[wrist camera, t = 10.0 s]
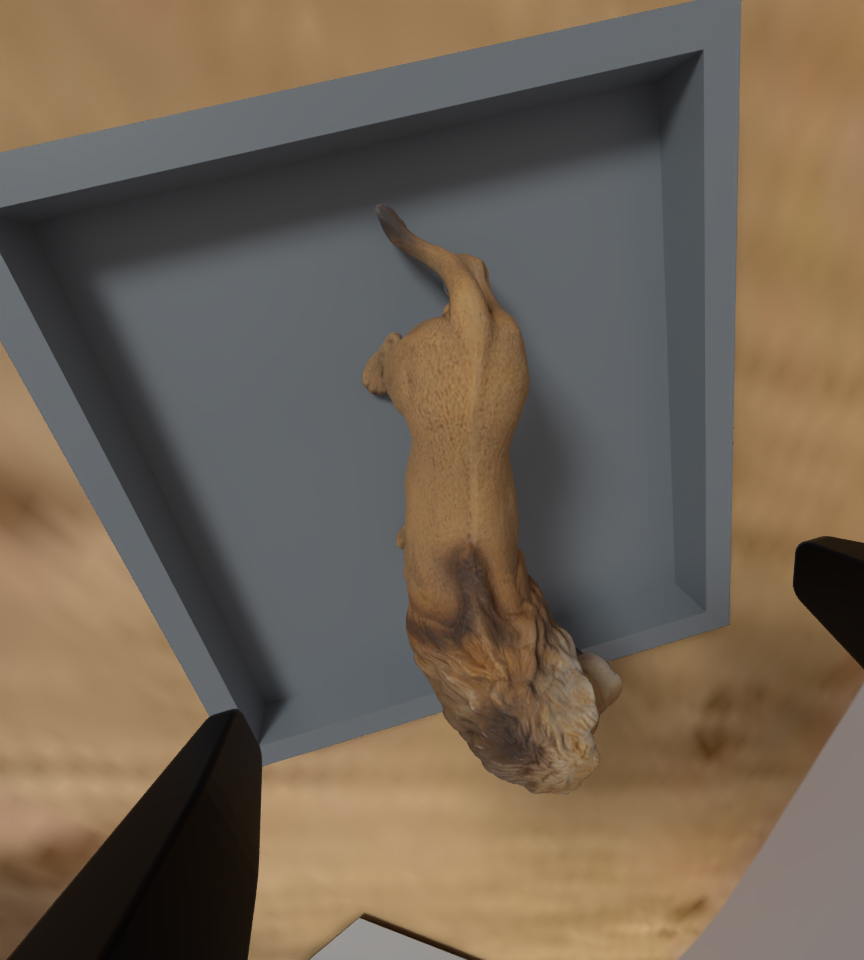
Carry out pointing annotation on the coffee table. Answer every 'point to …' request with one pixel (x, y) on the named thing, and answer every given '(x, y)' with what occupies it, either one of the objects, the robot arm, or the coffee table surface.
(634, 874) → the coffee table surface
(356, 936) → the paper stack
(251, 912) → the robot arm
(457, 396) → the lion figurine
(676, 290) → the tray
